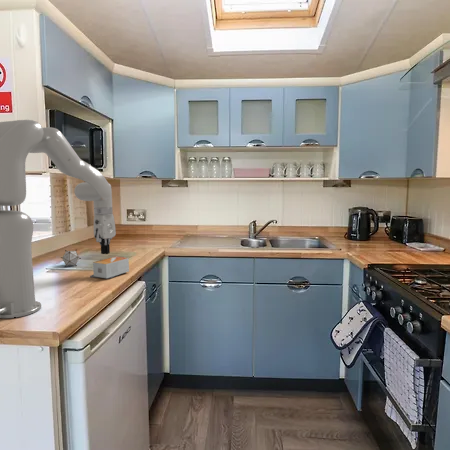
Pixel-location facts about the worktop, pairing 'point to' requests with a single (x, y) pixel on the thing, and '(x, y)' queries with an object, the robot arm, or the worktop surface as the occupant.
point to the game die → (70, 258)
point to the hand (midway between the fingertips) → (105, 253)
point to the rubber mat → (100, 277)
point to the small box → (110, 267)
